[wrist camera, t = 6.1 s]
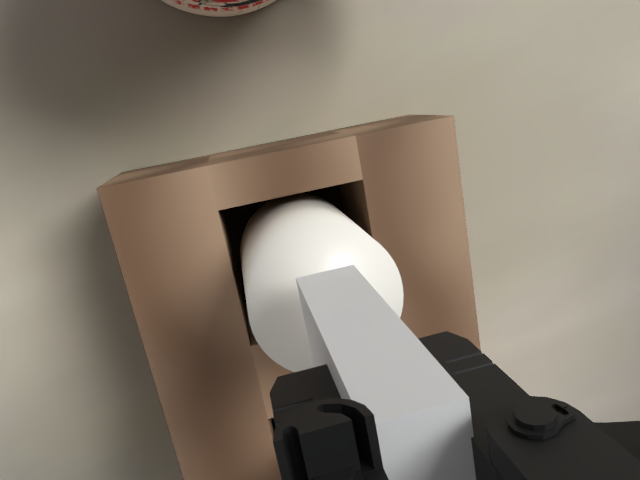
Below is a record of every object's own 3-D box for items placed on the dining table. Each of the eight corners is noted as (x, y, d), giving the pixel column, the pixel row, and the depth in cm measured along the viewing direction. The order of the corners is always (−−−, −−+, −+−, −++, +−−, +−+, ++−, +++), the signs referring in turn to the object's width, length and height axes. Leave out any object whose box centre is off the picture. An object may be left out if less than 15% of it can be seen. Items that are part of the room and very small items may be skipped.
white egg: (342, 182, 20) (391, 210, 15) (362, 289, 22) (413, 355, 16) (228, 207, 20) (231, 246, 14) (253, 315, 21) (266, 393, 15)
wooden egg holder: (409, 114, 23) (453, 115, 18) (453, 437, 27) (497, 498, 23) (121, 172, 21) (96, 188, 17) (215, 504, 25) (215, 584, 21)
